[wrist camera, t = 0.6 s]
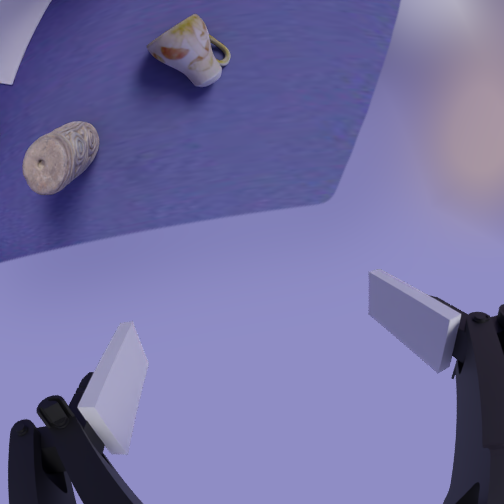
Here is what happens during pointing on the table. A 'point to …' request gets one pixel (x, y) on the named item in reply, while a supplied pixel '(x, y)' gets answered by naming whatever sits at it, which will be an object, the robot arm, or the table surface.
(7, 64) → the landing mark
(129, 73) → the table surface
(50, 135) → the carving
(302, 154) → the table surface
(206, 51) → the mug
